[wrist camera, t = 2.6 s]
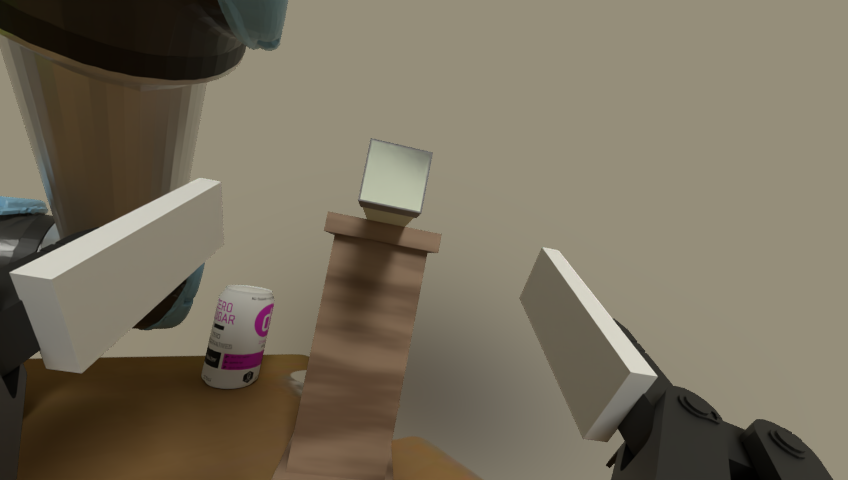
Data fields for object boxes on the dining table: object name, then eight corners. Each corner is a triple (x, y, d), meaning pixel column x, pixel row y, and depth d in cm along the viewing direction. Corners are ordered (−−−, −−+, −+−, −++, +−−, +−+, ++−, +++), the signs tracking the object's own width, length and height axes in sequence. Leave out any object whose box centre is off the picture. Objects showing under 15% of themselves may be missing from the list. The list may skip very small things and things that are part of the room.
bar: (421, 213, 22) (432, 152, 22) (358, 200, 22) (370, 138, 22) (396, 236, 52) (402, 209, 52) (370, 230, 51) (375, 204, 52)
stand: (391, 505, 34) (441, 234, 36) (268, 493, 32) (328, 211, 34) (386, 412, 54) (419, 241, 55) (310, 402, 52) (346, 226, 54)
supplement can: (266, 375, 59) (284, 291, 60) (240, 394, 50) (262, 296, 51) (220, 367, 59) (239, 282, 59) (188, 384, 50) (210, 286, 51)
